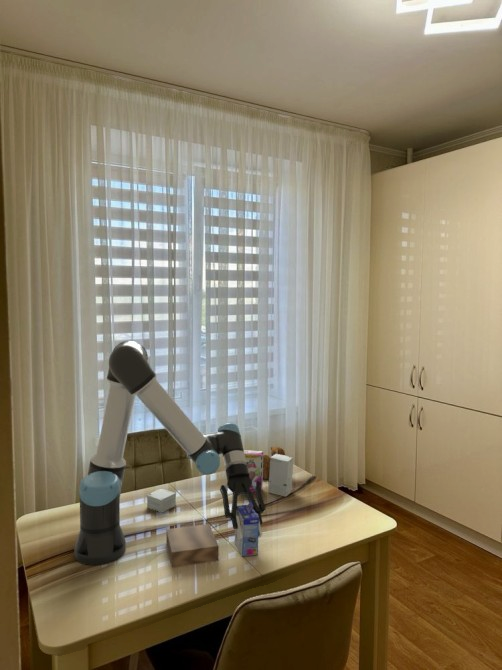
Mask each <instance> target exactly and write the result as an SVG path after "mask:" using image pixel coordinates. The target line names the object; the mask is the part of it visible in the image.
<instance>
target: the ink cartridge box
mask: <svg viewBox="0 0 502 670" xmlns="http://www.w3.org/2000/svg"><path fill="white" fill-rule="evenodd" d="M236 516H239V520H240V525H241V531H242V536H243V538H242V539H241V540H240V541H239V540H238V535H237V530H236V529H234V543H235V545H236V548H237V549H238V551H239V553H240V555H241V557H247V556H257V555H259V554H258V553H259V538H258V533H259V516H258V515H257V513H256V512H255V510H254V509H253V504H252V503H251V501H250V502H249V501H248V504H239V505H237V510H236Z"/></svg>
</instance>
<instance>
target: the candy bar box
mask: <svg viewBox="0 0 502 670" xmlns="http://www.w3.org/2000/svg"><path fill="white" fill-rule="evenodd" d="M244 454H245V458H246V462H247V464H246V465H247V467H248V472H249V477H250V479H251V480H252V481H253V482H257V481H259V482H260V491H261V493H262V491H263V479H264V478H263V455H264V451H262V450H249V449H244ZM250 490H251V494H255V489H253V486H252V485H251V486H250Z"/></svg>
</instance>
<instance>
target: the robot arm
mask: <svg viewBox="0 0 502 670" xmlns="http://www.w3.org/2000/svg"><path fill="white" fill-rule="evenodd" d="M148 356H149V355H148V352H147V349H146V348H145V347H144V346H143V345H142V344H141V343H140V342H137V341H133V340H124V341H121V342H119V343H118V344H117V345H116V346H115V347H114V348H113V349H112V352H111V353H110V355H109V357H108V372H107V376H106V380H107V381H108V383H109V385H110V386H109V390H108V396H107V399H106V405H105V411H104V415H103V420H102V425H101V430H100V435H99V441H98V444H97V449H96V454H94V455H93V456H91V458H90V460H89V464H88V471H87V475H85V476H84V477H83V478H82V479H81V481H80V483H79V489H78V495H79V526H80V527H79V528H80V529H79V532H78V536H77V539H76V543H75V545H74V549H73V550H74V558H75V560H76V561H77V562H79V563H81V564H83V565H88V566H95V565H96V566H97V565H105V564H108V563H112V562H113V561H116V560H117V559H119V558H120V557H122V556H123V555H124V554H125V552H126V546H127V545H126V543H127V542H126V538H125V535H124V533H123V529H122V527H121V521H120V520H121V519H120V517H121V516H120V513H121V511H120V499H121V491H122V485H123V482H124V475H125V470H126V465H127V461H126V460H125V458H124V453H125V448H126V443H127V437H128V432H129V429H130V428H129V427H130V422H131V418H132V415H133V414H132V413H133V409H134V404H135V398H136V397H137V398H138V399H139V400H140V401H141V402H142V404H144V406H145V407H146V408H147V410H149V412H150V413H151V414H152V415H153V416H154V418H155V419H156V420H157V421H158V422H159V423H160V424H161V425H162V427H163V428H164V429H165V430H166V431H167V433H169V435H170V436H171V437H172V438H173V439H174V441H176V443H177V444H178V445H179V446H180V447H181V449H182V450H183V451H184V452H185V453H186V456H187V458H188V459H189V460H191V461H192V462H193V463H194V464H195V466H196V469H197V470H198V471H199V472H200V473H201V474H202V475H205V476H206V475H207V476H209V475H212V474H214V473H216V472H217V471H218V470H219V469H220V465H221V460H220V458H221V457H220V455H222V458H223V459H222V460H223V464H224V468H225V476H226V480H227V483H226V484H221V485H220V487H219V491H220V494H221V495H222V496H221V497H222V503H223V504H222V505H223V511H224V517H225V519H230V520H231V524H232V528H233V529H234V530H235V529H236V530H237V535H238V540H239V541H240V540H241V539H242V538H243V536H242V531H241V525H240V520H239V516H236V510H237V506H238V499H239V498H238V497H239V496H240V495H241V496H244V497H245V498H246V500H247V502H248V503H249V502H250V501H251V503H252V504H253V509H254V510H255V512H256V513H257V515H258V516H259V533H258V539H259V538H261V537H262V536H263V531H262V528H261V526H262V524H263V518H262V514H263V513H265V511H266V506H265V503H264V499H263V494H262V492H261V491H260V482H259V481H257V482H253V481H252V480H251V479H250V477H249V472H248V467H247V465H246V464H247V462H246V458H245V454H244V450H245V449H244V444H243V441H242V440H243V439H242V435H241V432H240V430H239V429H240V428H239V426H238V425H237V424H236V423H233V422H227V423H225V424H222V425H220V426H219V427H218V428H217V432H212V433H205V434H202V433H201V431H200V430H199V429H198V427H196V425H195V424H194V423H193V422H192V420H191V419H190V417H188V415H186V414H185V412H184V411H183V410H182V408H181V407H180V406H179V405H178V404H177V403H176V401H175V400H174V399H173V398H172V397H171V395H170V394H169V393H168V392H167V391H166V390H165V388H164V387H163V386H162V385H161V384H160V382H159V381H158V380H157V374H156V373H155V371H154V369H153V368H152V367H151V366H150V364H149V362H148V358H149V357H148ZM251 485H252V486H253V489H255V493H254V494H255V497H254V496H253V493H251V490H250V486H251ZM229 490H230V492H231V493H232V501H231V509H230V502H229V494H228V491H229Z"/></svg>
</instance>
